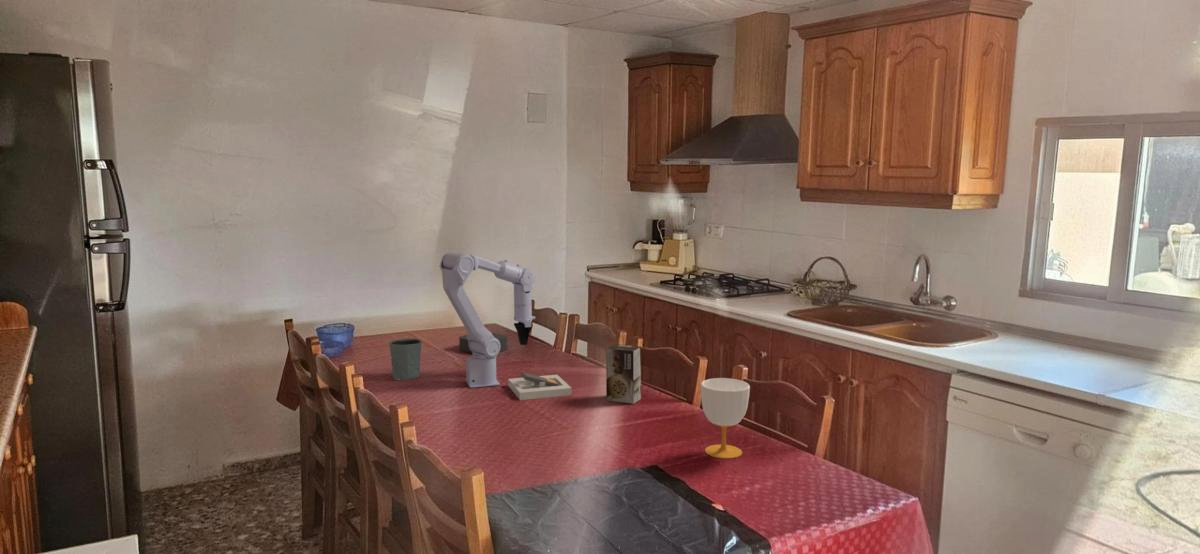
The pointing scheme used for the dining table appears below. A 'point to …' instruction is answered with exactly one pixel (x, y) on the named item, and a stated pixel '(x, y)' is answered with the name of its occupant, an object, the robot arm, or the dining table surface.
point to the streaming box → (502, 338)
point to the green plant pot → (405, 358)
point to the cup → (724, 410)
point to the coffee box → (623, 373)
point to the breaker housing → (539, 388)
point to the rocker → (539, 379)
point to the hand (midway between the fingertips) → (523, 344)
